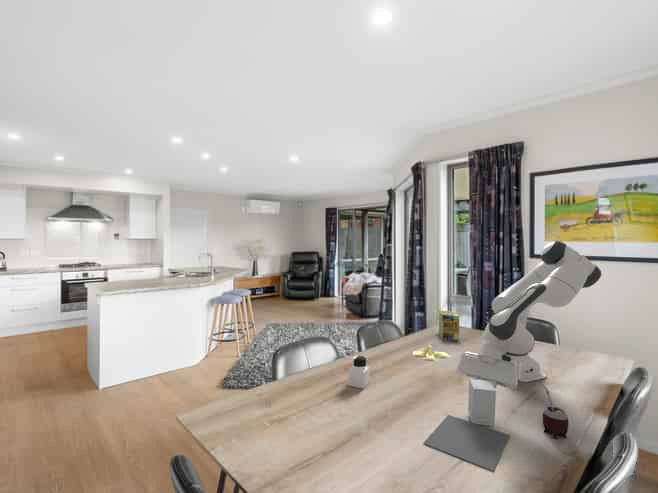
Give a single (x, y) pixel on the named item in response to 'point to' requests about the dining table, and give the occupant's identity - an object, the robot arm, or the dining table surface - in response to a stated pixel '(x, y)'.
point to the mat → (469, 442)
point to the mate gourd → (554, 419)
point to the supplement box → (481, 402)
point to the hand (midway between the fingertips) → (482, 391)
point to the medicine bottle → (359, 372)
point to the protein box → (449, 325)
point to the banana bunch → (429, 353)
